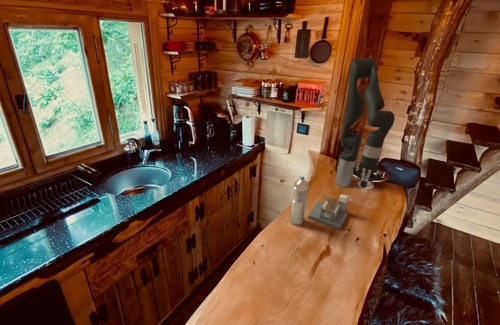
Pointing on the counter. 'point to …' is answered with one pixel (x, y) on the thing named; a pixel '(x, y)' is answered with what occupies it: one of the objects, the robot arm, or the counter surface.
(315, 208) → the clip base
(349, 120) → the robot arm
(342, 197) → the latch
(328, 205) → the tan flat bar
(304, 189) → the water bottle
